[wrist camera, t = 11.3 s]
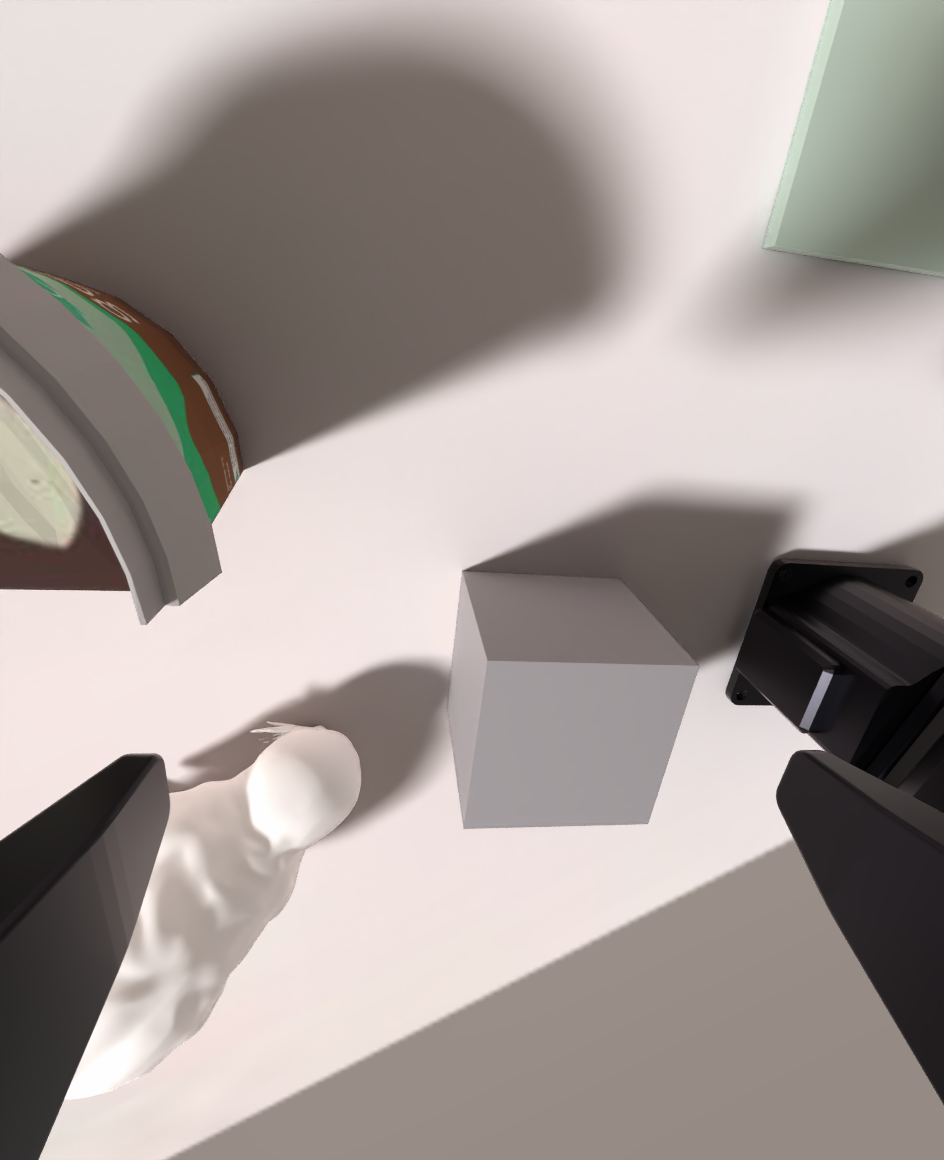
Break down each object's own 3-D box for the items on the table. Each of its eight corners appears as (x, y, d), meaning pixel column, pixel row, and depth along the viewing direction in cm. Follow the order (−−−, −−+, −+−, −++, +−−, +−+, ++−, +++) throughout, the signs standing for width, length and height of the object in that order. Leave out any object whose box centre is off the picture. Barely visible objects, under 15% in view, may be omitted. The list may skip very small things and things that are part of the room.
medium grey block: (619, 578, 21) (699, 666, 15) (588, 708, 23) (647, 824, 18) (461, 569, 20) (487, 660, 14) (446, 706, 22) (463, 828, 17)
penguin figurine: (-98, 1092, 14) (258, 813, 13) (63, 832, 22) (292, 647, 21) (114, 1159, 16) (422, 929, 16) (190, 905, 24) (398, 743, 23)
